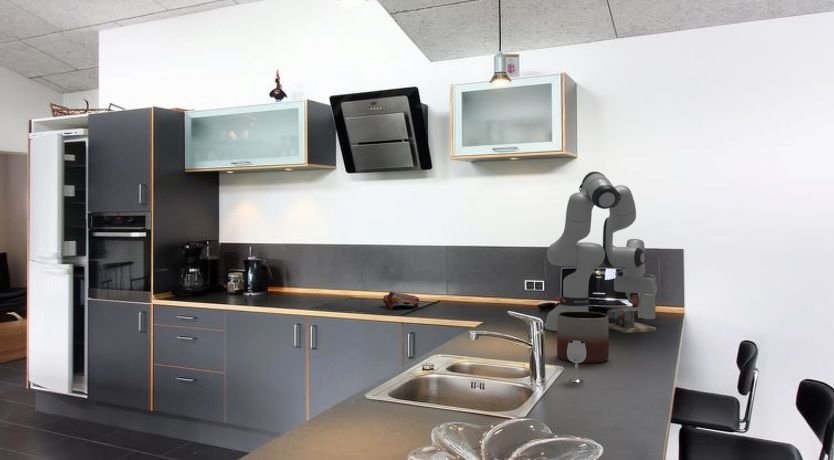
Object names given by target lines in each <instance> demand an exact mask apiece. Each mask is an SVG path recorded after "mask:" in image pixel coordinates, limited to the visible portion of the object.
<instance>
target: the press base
mask: <svg viewBox="0 0 834 460" xmlns="http://www.w3.org/2000/svg"><path fill="white" fill-rule="evenodd" d="M618 316H619V317H618V318H614V322H613V323H609V322H608V329H610V330H613V331H617V332H620V333H624V334H625V333H647V332H657V327H655V326H651V325H647V324H645V323H640V322H637V321H635V311H633V310H629V311H625V312H624V311H620V312H619V314H618Z"/></svg>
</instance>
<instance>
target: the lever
mask: <svg viewBox="0 0 834 460" xmlns="http://www.w3.org/2000/svg"><path fill="white" fill-rule="evenodd" d="M631 298H632V302H631V305H632V306H631V307H630V306H628V307H626V308H625V307H624V308H614V309H610V310H606V312H607V314H606V315H608V319H615V318H618V317H619V316H618V314H619V312H620V311H624V312H625V311H629V310H633V311H634V312H636V311H637V312H638V307H639V303H638V299H639V295H638V294H631Z"/></svg>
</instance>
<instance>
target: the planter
mask: <svg viewBox="0 0 834 460" xmlns="http://www.w3.org/2000/svg"><path fill="white" fill-rule="evenodd" d="M608 323H609V318H608V315H607V314H606V313H602V312H597V311H595V312H594V311H589V312H588V311H567V312H560V313H558V315H557V331H556V334H557V335H556V356H557V357H558V358H560V359H561V360H563V361H566V362H570V363H573V362H572V361H570V360H569V359H568V357H567V347H568V343H569V341H582V342H584V343H585V347H586V358H585V360H584V361H583V362H581V363H580V364H598V363H603V362H605V361H607V360H608V359H609V355H610V354H609V353H610V351H609V350H610V349H609V347H610V346H609V345H610V343H609V339H610V338H609V328H608Z"/></svg>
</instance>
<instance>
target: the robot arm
mask: <svg viewBox="0 0 834 460" xmlns="http://www.w3.org/2000/svg"><path fill="white" fill-rule="evenodd" d="M578 190H579V192H574V193H572V194H571V195H570V196H569V198H568V200H567V205H566V212H565V223H564V229H563V232H562V234H561V236H560V237H559V238H558V239H557V240H556V241H554V242H553V243H551V244H550V245H549V246H548V249H547V250H546V259H547V260H548V262H549V263H550V264H551V265H554V266H559V267H576V270H575V271H574V272H572V273H570V274H568V275H567V276H565V277H564V279H563V284H562V289H563V291H562V295H563V296H561V297H559V296H556V297H555V301H556V302H559V304H558V305H557V306H556V307H554V309H552V310H551V311H549V312H548V313H547V316H546V320H545V321H546V322H545V323H543V324H544V325H545V330H549V331H552V332H553V331H554V332H557V315H558V313H560V312H567V311H588V312H590V311H589V308H590V296H589V284H590V283H589V282H590V277H592V275H593V272H594V271H595V270H596V269H597V268H598V267H599V266H600V265H601V264H603V265H604V266H605V267H606V268H608V269H611V268H612V269H613V268H625V269H622V270H619V271H615V272H614V273H615V278H614V280H613V289H614V291H615V292H617V293H625V297H626V298H627V301H628V303H632V296H631V295H632V294H638V293H639V294H640V296H641V297H640V299H638V303H642V299H643V298H644V296H645V294H650V295H654V294H658V286H657V280H658V279H657V276H656V275H654V274H647V273H646V265H645V263H646V247H645V242H644V241H643V239H637V238H631V239H627V240H626V246H615V245H614V240H613V239H614V233H616V232H619V231H622V230H625V229H627V228H629V227H630V226H632V224H633V223H635V221H636V218H637V208H636V203H635V200H634V196H633V193H632V191H631V189H630V188H629V187H628V186H627V185H625V184H621V185H619V184H618V185H616V186H614V185H613V184H612V182H611V181H610V179H608V178H607V176H606V175H604V174H603V173H601V172H599V171H591V172H588V173H587V174H585V176H584V177H583V179H582V180H581V184H580V185H579V187H578ZM594 207H597V208H599V209H602V210H606V209H608V210H609V215H608V217H606V218H605V220H604V222H603V229H602V230H603V231H602V244H601V243H600V244H599V243H595V242H589V241H588V242H585V241H584V242H581V240H584V239H586V238H587V237H588V235H589V234H590V232H591V227H592V217H593V215H592V213H593V209H594Z"/></svg>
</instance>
